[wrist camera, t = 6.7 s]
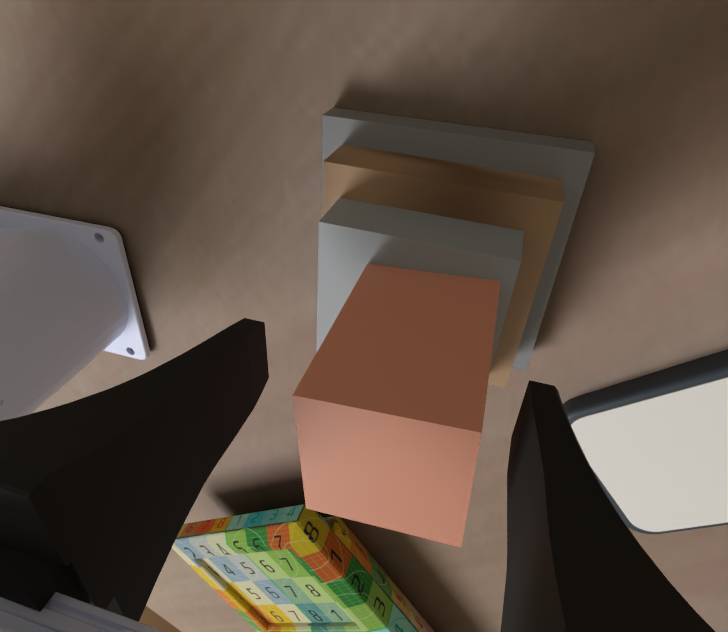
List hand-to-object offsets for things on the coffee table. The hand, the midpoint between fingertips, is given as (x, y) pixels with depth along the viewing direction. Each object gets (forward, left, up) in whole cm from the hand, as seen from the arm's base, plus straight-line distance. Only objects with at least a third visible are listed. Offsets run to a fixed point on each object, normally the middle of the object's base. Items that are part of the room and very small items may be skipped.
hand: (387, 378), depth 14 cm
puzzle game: (-4, -28, -9) cm, 29 cm away
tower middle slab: (0, 0, -7) cm, 7 cm away
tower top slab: (0, 0, -5) cm, 5 cm away
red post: (+1, 0, -3) cm, 3 cm away
